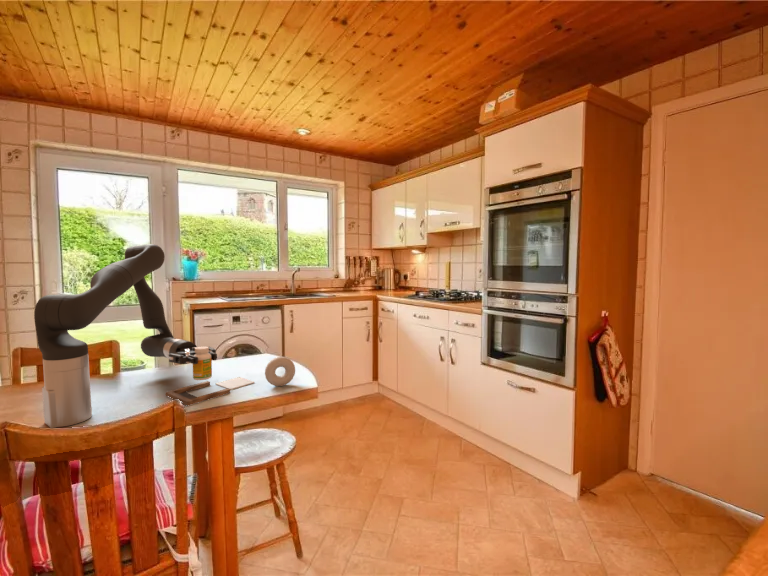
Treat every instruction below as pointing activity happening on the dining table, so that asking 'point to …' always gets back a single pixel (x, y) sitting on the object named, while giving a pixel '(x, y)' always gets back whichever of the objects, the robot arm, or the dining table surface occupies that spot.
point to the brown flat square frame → (191, 399)
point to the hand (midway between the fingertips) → (206, 358)
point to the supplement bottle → (202, 364)
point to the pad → (234, 383)
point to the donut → (286, 377)
